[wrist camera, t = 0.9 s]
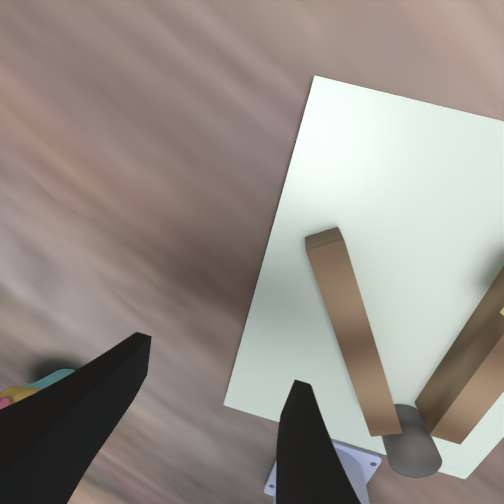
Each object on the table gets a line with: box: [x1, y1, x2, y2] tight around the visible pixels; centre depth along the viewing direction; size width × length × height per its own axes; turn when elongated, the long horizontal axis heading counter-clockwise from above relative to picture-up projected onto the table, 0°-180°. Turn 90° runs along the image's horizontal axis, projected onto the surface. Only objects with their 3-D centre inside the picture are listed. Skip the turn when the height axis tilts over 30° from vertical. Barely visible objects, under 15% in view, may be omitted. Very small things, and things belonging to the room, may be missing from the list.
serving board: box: [224, 76, 504, 479], centre depth 19 cm, size 24×20×1 cm
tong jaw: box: [305, 227, 402, 437], centre depth 18 cm, size 14×2×2 cm, turn 22°
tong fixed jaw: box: [381, 266, 504, 478], centre depth 17 cm, size 18×4×3 cm, turn 167°
